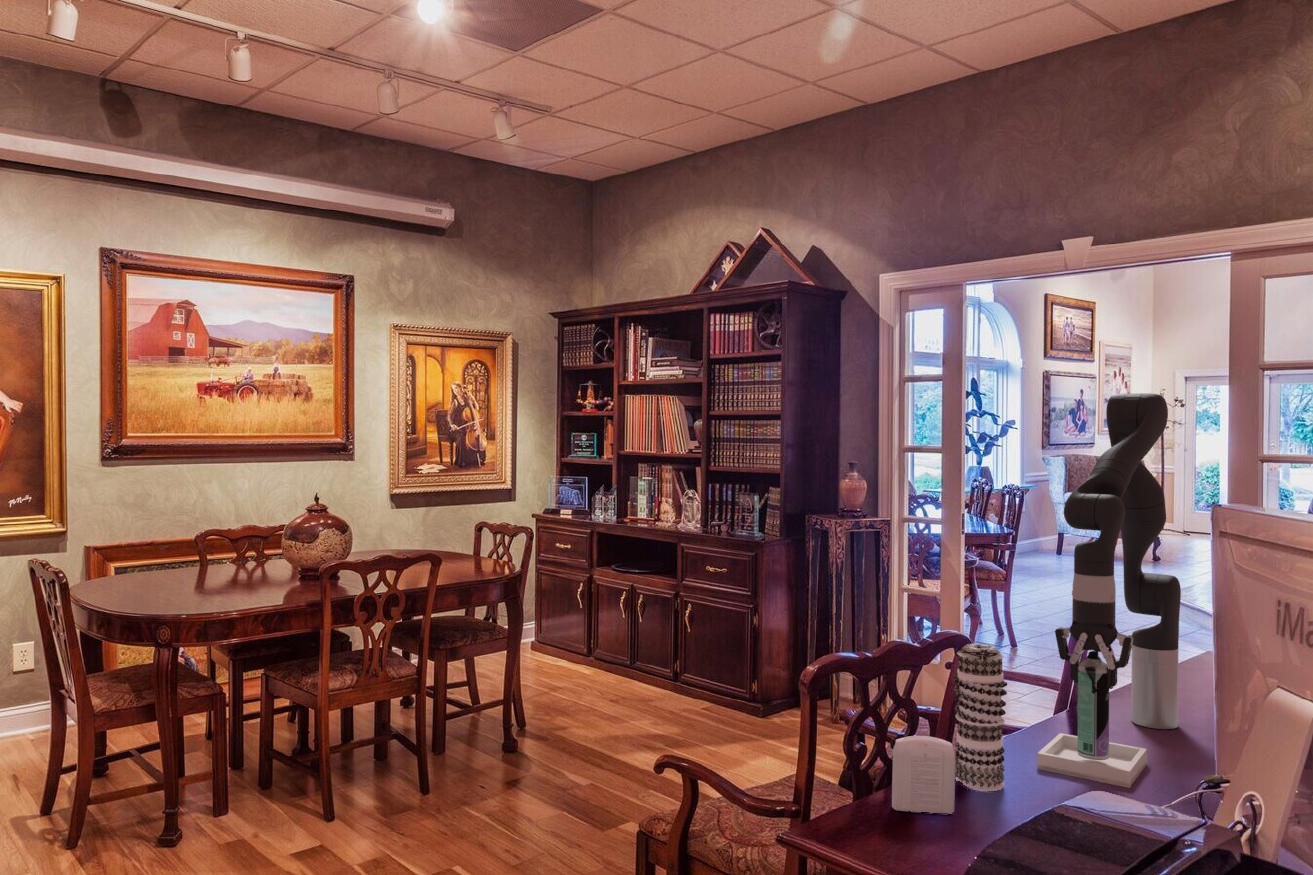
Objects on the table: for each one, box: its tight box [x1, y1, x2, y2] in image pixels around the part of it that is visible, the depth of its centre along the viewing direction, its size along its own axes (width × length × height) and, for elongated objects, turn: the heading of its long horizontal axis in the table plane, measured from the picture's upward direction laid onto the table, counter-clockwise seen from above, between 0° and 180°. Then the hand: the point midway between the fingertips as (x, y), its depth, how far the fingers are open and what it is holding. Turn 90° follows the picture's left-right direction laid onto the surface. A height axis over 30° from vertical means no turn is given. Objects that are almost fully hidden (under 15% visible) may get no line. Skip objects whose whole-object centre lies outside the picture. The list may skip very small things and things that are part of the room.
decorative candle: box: [953, 643, 1008, 791], centre depth 173 cm, size 9×9×25 cm
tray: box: [1036, 732, 1148, 789], centre depth 182 cm, size 16×16×3 cm
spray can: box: [1077, 650, 1110, 760], centre depth 182 cm, size 6×6×20 cm
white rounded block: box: [891, 735, 956, 815], centre depth 160 cm, size 10×4×12 cm, turn 81°
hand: (1093, 685), depth 182 cm, fingers closed on spray can, 5 cm apart
